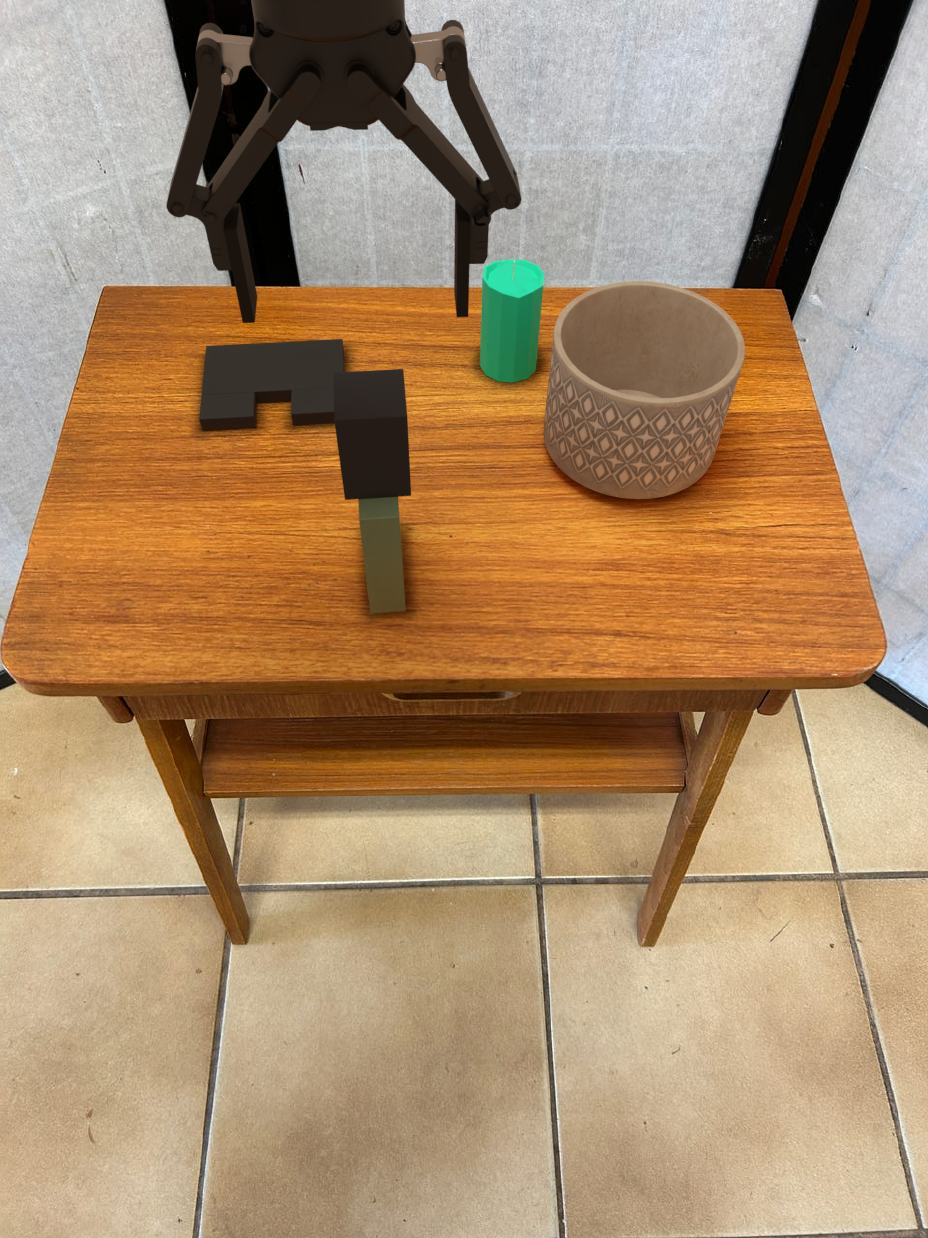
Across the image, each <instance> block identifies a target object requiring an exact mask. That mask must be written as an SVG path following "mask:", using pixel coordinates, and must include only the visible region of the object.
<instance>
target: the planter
mask: <svg viewBox="0 0 928 1238" xmlns="http://www.w3.org/2000/svg"><path fill="white" fill-rule="evenodd" d="M552 335H553V337H552V344H551V355H550V364H549V374H548V380H547V381H548V382H547V392H546V399H545V400H546V401H545V410H544V419H543V433H542V435H543V441H544V445H545V448H546V450H547V453H548V455H549V456H550V459H552V461H553V462H554V464H555V465H556V466H557V467H558V468H559V469H560V470H561V472H562V473H564V474H565V475H566V476H568V477H569V478H570V479H571V480H573V481H574V482H575V483H578V484H579V485H581V486H583V487H585V488H586V489H590V490H592V491H594V492H596V493H600V494H603V495H606V496H611V497H615V498H621V499H628V500H629V499H630V500H652V499H656V498H663V497H668V496H671V495H673V494H677V493H679V492H681V491H684V490H686V489H687V488H688V489H689V487H691V486H692V485H693V484H695V483H696V482H698V481H699V480H700V479H701V478H702V477H703V476H704V475H705V474H706V473H707V471H708V470H709V468H710V466H711V465H712V462H713V460H714V457H715V454H716V452H717V448H718V445H719V441H720V439H721V435H722V433H723V430H724V429H723V428H724V426H725V422H726V419H727V416H728V412H729V410H730V406H731V404H732V400H733V397H734V394H735V391H736V388H737V384H738V381H739V378H740V374H741V371H742V368H743V365H744V362H745V356H746V345H745V339H744V336H743V333H742V331H741V329H740V327H739V326H738V325H737V323H736V321H735V320H734V319H733V318H732V316H730V315H729V314H728V312H727V311H725V310H724V309H723V308H722V307H720V306H719V305H718V304H716V303H715V302H714V301H712V300H710V299H709V298H707V297H705V296H703V295H701V294H699V293H698V292H697V293H696V292H695V291H692V290H689V289H687V288H684V287H681V286H676V285H674V284H673V285H672V284H669V283H663V282H656V281H645V280H632V281H631V280H628V281H627V280H626V281H619V282H611V283H607V284H603V285H600V286H597V287H594V288H592V289H589V290H587V291H585V292H583V293H581V294H580V295H578V296H576V297H575V298H573V299H572V300H570V302H568V304H566V306H565V307H563V309H562V310H561V311H560V313H559V315H558V316H557V319H556V320H555V323H554V328H553V334H552Z"/></svg>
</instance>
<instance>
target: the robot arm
mask: <svg viewBox="0 0 928 1238" xmlns="http://www.w3.org/2000/svg"><path fill="white" fill-rule="evenodd" d="M250 1H251V9H252V14H253V15H252V16H253V22H254V30H253V32H252V36H244V35H233V34H224V32H223V30H222V29H221V28H220V27H219V26H218V25H217V24H216V23H213V22H206V23H205V24H203V25H202V26H201V28H200V29H199V34H198V39H197V44H196V48H195V53H194V54H195V55H194V59H195V67H196V68H195V69H196V80H197V88H196V92H195V95H194V99H193V102H192V105H191V109H190V112H189V116H188V119H187V120H188V121H187V124H186V128H185V131H184V134H183V138H182V142H181V146H180V148H179V152H178V156H177V159H176V163H175V167H174V170H173V173H172V177H171V181H170V185H169V191H168V194H167V200H166V206H165V207H166V209H167V212H168V213H169V214H170V215H171V216H173V217H175V218H185V216H189V217H193V218H195V219H197V220H199V222H201V223H202V224H203V226H204V230H205V233H206V238H207V243H208V247H209V252H210V255H211V260H212V264H213V266H214V267H215V269H216V271H217V272H225V271H226V272H228V271H231V273H232V277H233V278H232V279H233V283H234V288H235V292H236V297H237V301H238V306H239V307H238V308H239V311H240V316H241V321H242V324H255V323H256V315H257V304H258V291H257V287H256V282H255V277H254V272H253V271H254V270H253V266H252V261H251V255H250V250H249V246H248V239H247V234H246V230H245V228H246V227H245V225H244V224H245V223H244V219H243V212H242V207H241V203H239V202H238V200H239V199H240V197H241V196H242V194H243V193H244V192H245V190H246V189H247V187H248V186H249V185H250V183H251V181H252V180H253V179H254V178H255V176H256V175H257V173H258V172H259V170H260V169H261V168H262V166H263V164H264V163H265V162H266V161H267V159H268V158H269V156H270V155H271V153H272V152H273V151H274V149H275V148H276V146H277V145H278V143H281V142H283V141H284V139H286V137H287V135H288V134H289V132H290V131H291V129H292V128H293V127H294V125H295V124H296V122H297V121H298V122H299V123H301V124H302V125H304V126H307V127H309V131H310V132H313V131H315V132H316V131H328V130H331V129H334V128H338V127H340V128H343V129H348V130H353V131H367V130H369V126H371V125H373V124H375V123H376V122H378V121H379V122H380V123H381V124H382V125H383V127H384V128H386V129H387V130H388V131H389V133H390V134H391V135H392V136H393V137H394V138H395V139H396V140H398V141H399V140H400V141H401V142H402V143H403V144H404V145H405V146H406V147H407V148H408V149H409V150H410V151H411V153H413V155H414V156H415V157H416V158H417V159H418V160H419V161H420V162H421V164H423V166H424V167H425V168H426V169H427V170H428V171H429V172H430V173H431V175H433V177H434V178H435V179H436V181H438V182H439V183H440V184H441V185H442V186H443V188H444V189H445V190H446V191H447V192H448V193H449V195H450V196H452V198H453V199H454V257H453V258H454V267H453V269H454V270H453V271H454V272H453V278H454V279H453V292H454V293H453V294H454V304H455V316H456V318H469V308H470V307H469V304H470V303H469V301H470V265H484V264H485V263H486V260H487V259H488V255H489V234H490V233H489V229H490V224H491V221H492V215H493V214H494V213H495V212H497V211H499V210H501V209H506V210H510V211H511V210H516V209H517V208H519V207H520V205H521V204H522V194H521V187H520V182H519V178H518V173H517V171H516V169H515V166H514V164H513V162H512V160H511V157H510V155H509V153H508V151H507V149H506V147H505V144H504V142H503V139H502V137H501V136H500V133H499V131H498V129H497V127H496V125H495V122H494V121H493V117H492V116H491V114H490V111H489V109H488V107H487V105H486V103H485V101H484V98H483V96H482V94H481V92H480V90H479V88H478V87H479V86H478V85H477V83H476V81H475V79H474V76H473V74H472V71H471V70H470V68H469V62H468V60H469V59H468V51H467V44H466V37H465V29H464V27H463V25H462V23H461V22H460V21H459V20H456V19H449V20H447V21H445V22H444V23H443V25H442V26H441V29H440V30H438V31H430V32H423V33H422V32H421V33H415V34H413V33H412V32H411V30H410V28H409V26H408V24H407V21H406V7H405V0H250ZM416 64H422V65H424V66H425V67H426V68H427V69H428V71H429V75H430V76H431V77H432V78H433V79H434V80H435V81H438V82H440V83H443V82H446V88H447V93H448V95H449V98H450V101H451V103H452V105H453V108H454V109H455V111H456V114H457V116H458V118H459V120H460V122H461V124H462V126H463V128H464V130H465V132H466V134H467V136H468V139H469V141H470V143H471V145H472V146H473V149H474V151H475V153H476V155H477V157H478V159H479V162H480V163H481V165H482V167H483V169H484V171H485V173H486V176H487V177H488V179H486V180H483V178H482V177H481V176H480V175H479V174H478V173H477V172H476V170H475V169H474V168H473V167H472V165H471V164H469V162H468V161H467V160H466V159H465V157H464V156H463V155H462V154H461V153H460V152H459V150H457V148H456V146H454V145H453V143H451V142H450V140H449V139H448V137H447V136H445V135H444V134H443V132H442V131H441V130H440V129H439V128H438V126H437V125H436V124H435V123H434V122H433V121H432V120H431V118H430V117H429V116H428V115H427V114H426V112H424V110H423V109H422V107H420V105H419V104H418V103H417V101H416V100H415V98H414V96H413V93H412V92H411V91H410V90H409V89H408V87H407V86H406V85H405V82H406V81H407V79H408V78H409V76H410V74H411V73H412V71H413V70H414V68H415V65H416ZM249 66H251V68H252V70H253V71H254V73H255V74H256V75H257V76H258V78H259V79H260V80H261V81H262V82H263V83H264V85H265V86H266V87H267V88H268V89H269V90H268V91H267V93H266V95H265V97H264V99H263V101H262V104H261V106H259V109H258V110H257V112H256V113H255V115H254V116H253V117H252V119H251V121H250V122H249V123H248V125H247V126H246V128H245V129H244V131H243V133H242V134H241V136H240V137H239V139H238V140H237V142H235V145H234V146H233V148H232V149H231V150H230V152H229V153H228V155H227V157H226V158H225V159H224V161H223V163H222V164H221V165H220V166H219V168H218V170H217V172H216V173H215V174H214V176H213V177H212V178H211V180H210V182H209V181H206V182H205V183H206V184H205V186H204V185H200V184H197V183H198V179H199V177H200V173H201V171H202V167H203V164H204V160H205V157H206V153H207V150H208V147H209V143H210V141H211V137H212V134H213V131H214V127H215V124H216V121H217V117H218V114H219V111H220V106H221V102H222V96H223V90H224V86H231V85H233V84H234V85H235V83H236V82H237V81H238V80H239V75H240V72H241V70H242V69H243V68H245V67H249Z"/></svg>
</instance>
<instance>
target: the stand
mask: <svg viewBox="0 0 928 1238" xmlns="http://www.w3.org/2000/svg"><path fill="white" fill-rule="evenodd" d="M357 500H358V501H357V502H358V503H357V504H358V522H359V530H360V538H361V539H360V540H361V545H362V546H361V547H362V557H363V563H364V564H363V565H364V573H365V581H366V589H367V597H368V598H367V599H368V606H369V607H368V608H369V613H370V614H371V615H373V614H374V615H375V614H386V613H389V614H390V613H402V612H403V613H404V612H406V609H407V607H406V595H405V592H406V591H405V579H404V565H403V562H404V561H403V550H402V547H403V546H402V534H401V533H402V532H401V520H400V519H401V518H400V504H399V497H384V498H368V499H357Z"/></svg>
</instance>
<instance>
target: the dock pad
mask: <svg viewBox="0 0 928 1238" xmlns="http://www.w3.org/2000/svg"><path fill="white" fill-rule="evenodd" d="M335 372H346V371H345V349H344V340H343V338H333V339H331V338H330V339H315V340H314V339H313V340H312V339H311V340H295V341H293V340H292V341H274V342H255V343H253V342H252V343H235V344H215V345H213V344H212V345H206V346H205V355H204V365H203V374H202V375H203V376H202V384H201V385H202V386H201V396H200V406H199V416H198V420H199V423H200V424H199V425H200V427H201V430H202V431H217V430H234V429H251V428H252V429H255V428H257V415H258V414H257V412H258V404H267V403H269V404H270V403H287V402H290V406H291V407H290V417H291V422H292V426H307V425H322V424H323V425H324V424H326V425H327V424H335V421H334V381H333V373H335Z"/></svg>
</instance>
